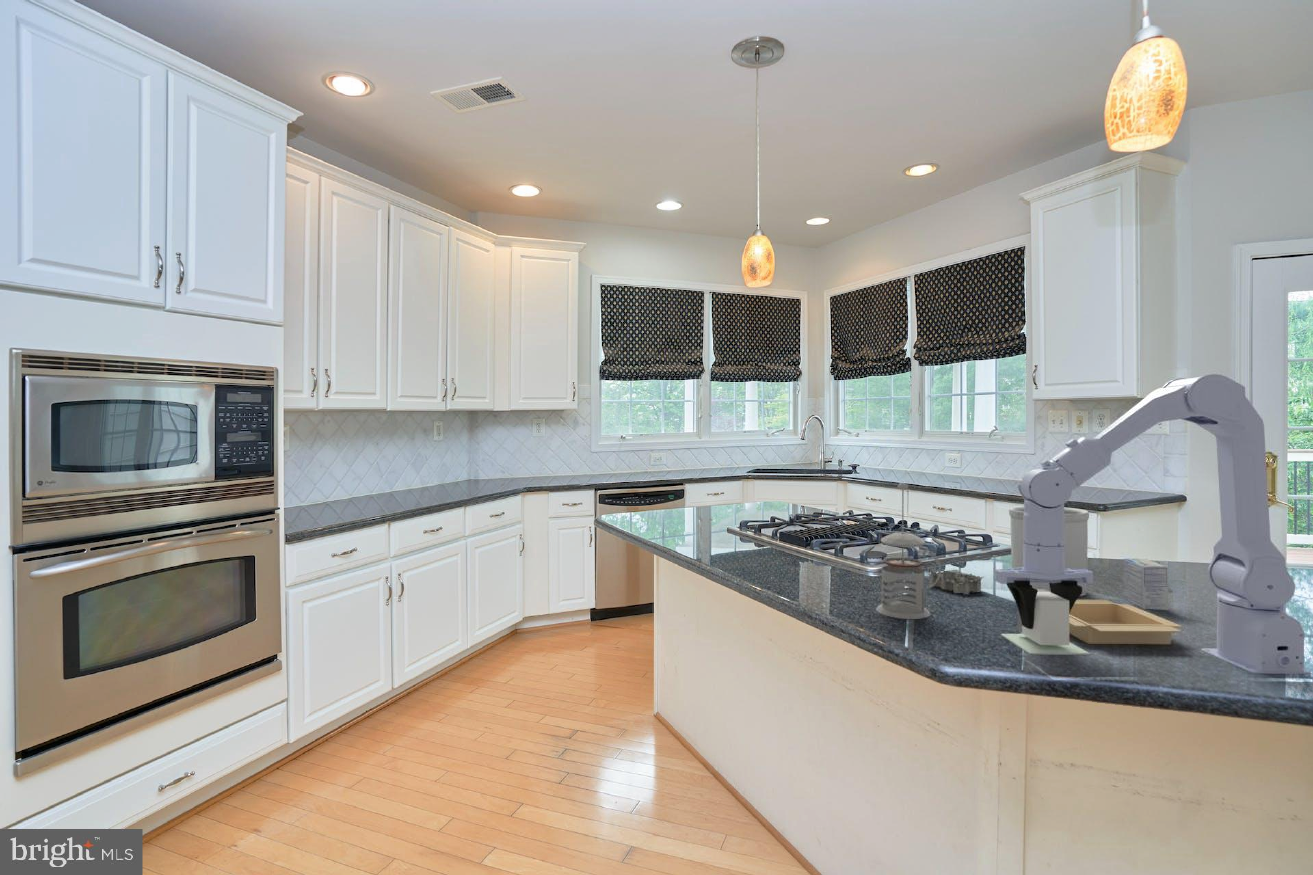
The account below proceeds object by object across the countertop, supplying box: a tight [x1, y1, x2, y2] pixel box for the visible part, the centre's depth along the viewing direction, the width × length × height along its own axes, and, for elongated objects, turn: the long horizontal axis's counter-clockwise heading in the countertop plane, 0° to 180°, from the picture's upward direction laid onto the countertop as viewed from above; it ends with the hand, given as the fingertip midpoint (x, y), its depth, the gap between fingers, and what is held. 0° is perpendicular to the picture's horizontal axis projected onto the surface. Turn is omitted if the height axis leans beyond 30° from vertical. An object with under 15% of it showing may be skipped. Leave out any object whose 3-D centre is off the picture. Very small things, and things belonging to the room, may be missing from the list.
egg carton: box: [925, 567, 985, 595], centre depth 140 cm, size 11×8×4 cm
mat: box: [1000, 633, 1090, 656], centre depth 103 cm, size 9×9×1 cm
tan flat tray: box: [1069, 599, 1184, 645], centre depth 110 cm, size 18×17×3 cm
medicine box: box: [1121, 557, 1169, 611], centre depth 126 cm, size 8×4×9 cm, turn 168°
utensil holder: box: [1008, 505, 1090, 598], centre depth 138 cm, size 15×15×18 cm
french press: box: [875, 482, 942, 620], centre depth 123 cm, size 10×12×25 cm
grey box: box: [1016, 589, 1070, 645], centre depth 103 cm, size 7×4×7 cm, turn 177°
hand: (1043, 627), depth 103 cm, fingers closed on grey box, 4 cm apart
